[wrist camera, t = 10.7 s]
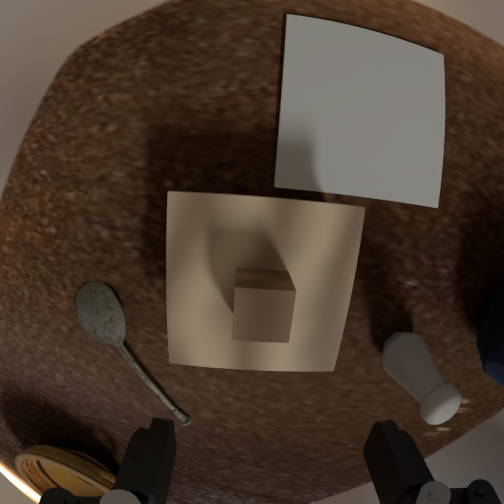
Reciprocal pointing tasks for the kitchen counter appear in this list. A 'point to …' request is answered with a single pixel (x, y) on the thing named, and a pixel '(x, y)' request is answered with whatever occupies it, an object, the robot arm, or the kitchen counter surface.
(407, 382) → the salt shaker
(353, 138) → the tray
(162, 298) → the kitchen counter surface
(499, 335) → the decorative orb
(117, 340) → the soupspoon
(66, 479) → the ceramic bowl
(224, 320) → the lid
